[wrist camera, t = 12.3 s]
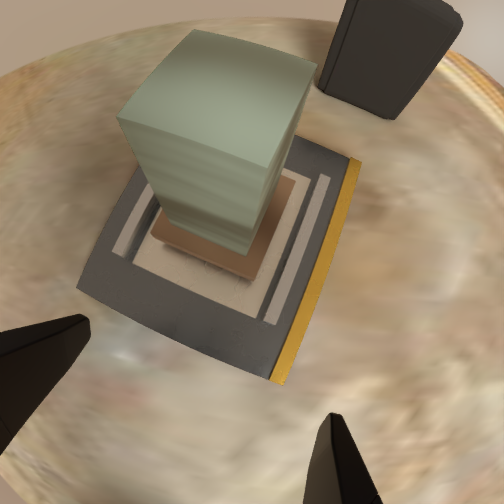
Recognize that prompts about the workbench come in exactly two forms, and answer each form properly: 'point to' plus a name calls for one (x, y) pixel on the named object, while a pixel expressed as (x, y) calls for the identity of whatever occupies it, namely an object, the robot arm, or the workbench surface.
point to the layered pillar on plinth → (219, 145)
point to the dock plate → (225, 282)
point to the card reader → (387, 51)
